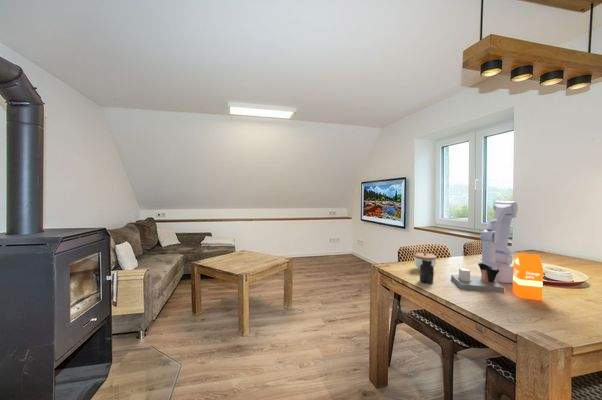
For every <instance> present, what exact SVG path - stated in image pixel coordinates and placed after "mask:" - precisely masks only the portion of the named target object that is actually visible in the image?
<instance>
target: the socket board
mask: <svg viewBox="0 0 602 400" xmlns="http://www.w3.org/2000/svg"><path fill="white" fill-rule="evenodd" d="M450 277H451V278H450V280H451V281H452V282H454V283H455V285H457V287H458V288H459V289H460V290H465V291H466V290H467V291H478V292H479V291H480V292H490V293H505V287H504V286H503V285H501V284H500V283H499V282H496V281H494V283H484V282H482V281H481V276H478V275H474V276H473V275H471V270H470V269H468V268H463V267H462V268H461V267H459V269H458V274H451V275H450Z"/></svg>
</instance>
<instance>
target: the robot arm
mask: <svg viewBox="0 0 602 400" xmlns="http://www.w3.org/2000/svg"><path fill="white" fill-rule="evenodd" d="M492 206H493V211H494V214H493V216H492V219H490V220H489V221H488V223H487V225H486V227H485V228H484V230H481V232H480V237H479V238H480V244H481V245H482V247H481V258H480V261H478V262H479V263H477V265H478V268H479V269H480V274H481V275H482V270H486V271H487V275H488V281H489V282H492V283H494V281H496V282H497V283H507V284H513V271H514V265H512V263H513V261H514V260H513V255H514V253H513V251H512V250H511V249H510V248H508V244H509V238H510V232H511V226H512V220H513V219H514V218H516V217H517V213H518V212H517V211H518V203H517V201H515V200H514V201H512V200H511V201H505V200H504V201H503V200H495V201H493V205H492Z"/></svg>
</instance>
